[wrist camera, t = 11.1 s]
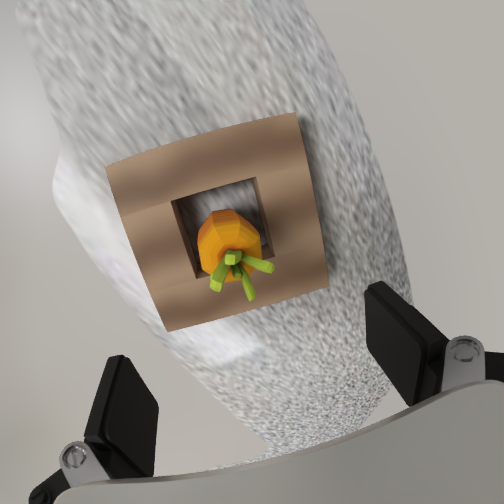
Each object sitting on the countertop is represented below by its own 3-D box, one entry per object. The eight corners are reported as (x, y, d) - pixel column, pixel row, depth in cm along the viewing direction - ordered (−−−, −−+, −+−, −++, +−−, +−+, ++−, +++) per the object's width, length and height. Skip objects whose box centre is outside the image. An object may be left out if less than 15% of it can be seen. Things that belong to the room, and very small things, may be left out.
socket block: (116, 164, 28) (104, 166, 24) (285, 116, 29) (295, 112, 25) (170, 313, 35) (167, 332, 31) (317, 271, 35) (329, 285, 32)
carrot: (249, 202, 32) (291, 249, 18) (236, 245, 33) (266, 321, 19) (203, 190, 30) (207, 230, 17) (191, 236, 32) (189, 308, 18)
